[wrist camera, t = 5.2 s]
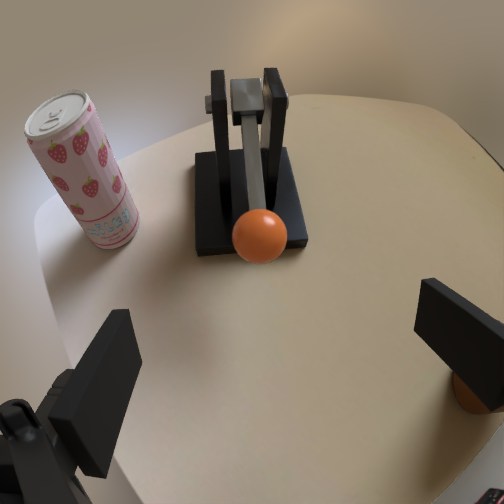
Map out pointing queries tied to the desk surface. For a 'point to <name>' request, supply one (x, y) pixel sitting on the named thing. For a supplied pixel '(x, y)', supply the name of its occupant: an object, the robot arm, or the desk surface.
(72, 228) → the desk surface
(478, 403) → the mug
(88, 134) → the beverage can
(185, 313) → the desk surface
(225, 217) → the switch bracket
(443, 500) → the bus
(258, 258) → the switch lever
